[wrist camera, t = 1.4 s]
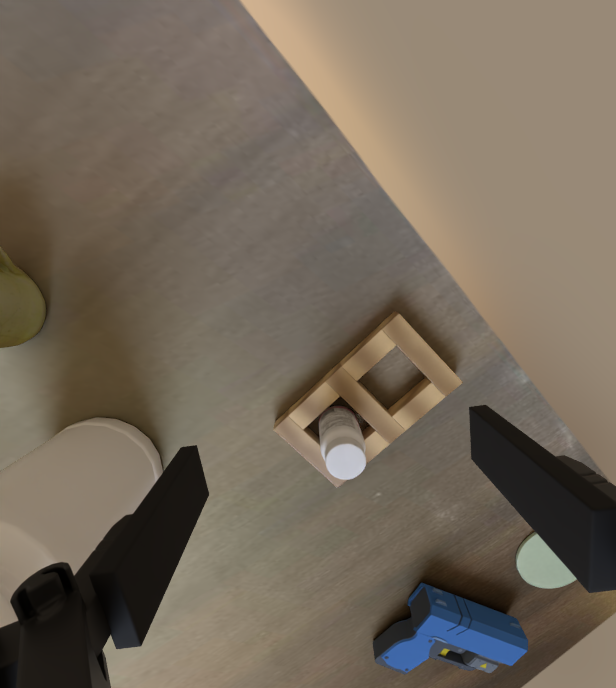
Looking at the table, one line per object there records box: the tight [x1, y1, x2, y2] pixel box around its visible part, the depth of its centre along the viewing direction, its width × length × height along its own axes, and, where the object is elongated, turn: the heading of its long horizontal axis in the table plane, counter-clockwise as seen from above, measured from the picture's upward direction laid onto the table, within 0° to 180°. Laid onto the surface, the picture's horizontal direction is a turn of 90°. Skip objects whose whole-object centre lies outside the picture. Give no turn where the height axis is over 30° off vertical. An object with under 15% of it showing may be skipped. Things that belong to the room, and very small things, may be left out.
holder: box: [273, 311, 463, 488], centre depth 37 cm, size 20×11×2 cm, turn 135°
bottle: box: [0, 417, 163, 628], centre depth 27 cm, size 14×14×28 cm
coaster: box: [516, 532, 576, 588], centre depth 43 cm, size 10×10×1 cm
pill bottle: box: [319, 406, 366, 480], centre depth 35 cm, size 5×5×8 cm
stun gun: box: [373, 583, 528, 674], centre depth 44 cm, size 4×16×15 cm
